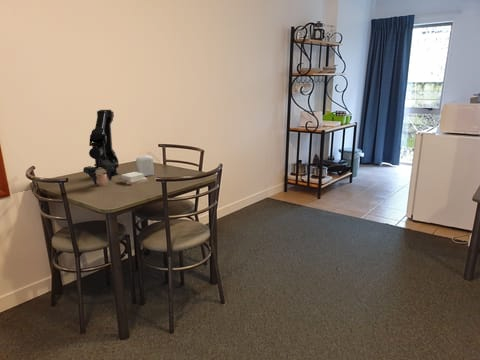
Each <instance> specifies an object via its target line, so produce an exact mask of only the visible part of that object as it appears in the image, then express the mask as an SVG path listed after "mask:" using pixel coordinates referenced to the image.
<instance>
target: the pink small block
mask: <svg viewBox="0 0 480 360" xmlns="http://www.w3.org/2000/svg"><path fill="white" fill-rule="evenodd" d="M96 177H97V184H98V186H100V187H104V186H107V185H109V182H108V180H109V179H108V176H107V173H106V172H102V173H101V172H100V173H96Z"/></svg>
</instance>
